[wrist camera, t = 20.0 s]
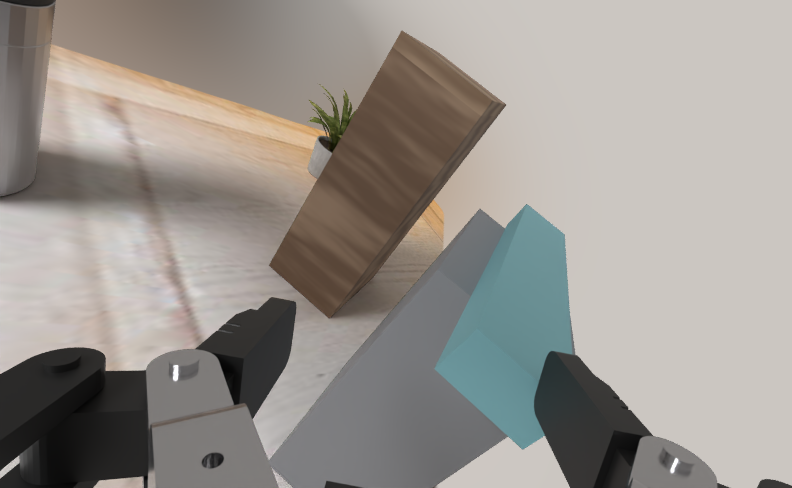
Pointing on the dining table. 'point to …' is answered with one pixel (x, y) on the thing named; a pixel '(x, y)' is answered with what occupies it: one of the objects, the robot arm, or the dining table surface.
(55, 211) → the dining table surface
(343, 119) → the house plant
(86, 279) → the dining table surface
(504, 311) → the block
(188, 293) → the dining table surface
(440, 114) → the stand
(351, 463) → the block
